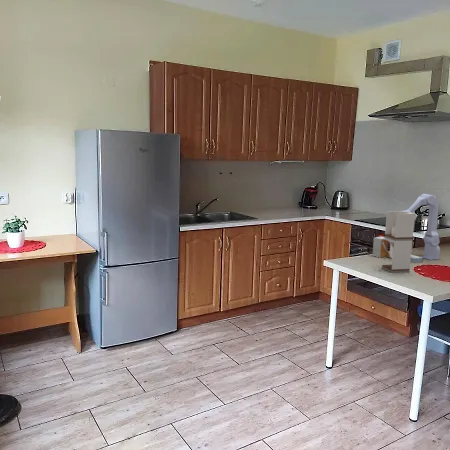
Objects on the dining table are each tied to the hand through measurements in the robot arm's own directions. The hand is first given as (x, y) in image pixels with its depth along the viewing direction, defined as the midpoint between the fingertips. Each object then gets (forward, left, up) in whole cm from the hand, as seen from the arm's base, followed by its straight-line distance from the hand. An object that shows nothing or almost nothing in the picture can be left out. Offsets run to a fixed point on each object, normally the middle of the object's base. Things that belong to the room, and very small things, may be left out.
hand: (394, 256), depth 291 cm
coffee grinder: (+22, +24, -2) cm, 33 cm away
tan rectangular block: (-1, -5, -1) cm, 5 cm away
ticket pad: (-7, +7, -1) cm, 10 cm away
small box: (+6, -8, -2) cm, 10 cm away
